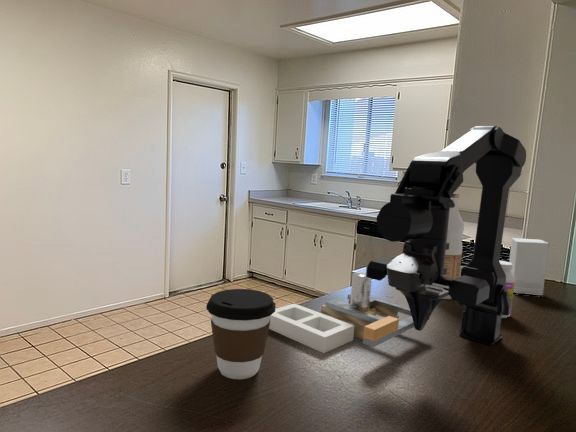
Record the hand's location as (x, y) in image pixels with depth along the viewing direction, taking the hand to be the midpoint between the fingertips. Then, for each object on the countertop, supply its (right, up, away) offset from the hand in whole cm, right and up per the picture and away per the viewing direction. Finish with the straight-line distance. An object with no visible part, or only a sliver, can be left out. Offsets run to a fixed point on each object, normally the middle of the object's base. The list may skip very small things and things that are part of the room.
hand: (418, 329), depth 69 cm
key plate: (-7, -1, +14) cm, 16 cm away
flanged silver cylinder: (-6, -5, +21) cm, 22 cm away
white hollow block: (-18, -5, +15) cm, 24 cm away
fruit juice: (+20, -3, +47) cm, 51 cm away
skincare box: (+47, -4, +53) cm, 71 cm away
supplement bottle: (+29, -5, +33) cm, 44 cm away
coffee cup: (-29, -6, -1) cm, 30 cm away
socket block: (-6, -5, +21) cm, 22 cm away
